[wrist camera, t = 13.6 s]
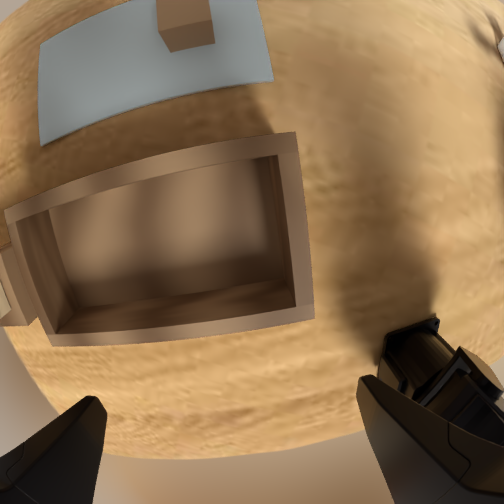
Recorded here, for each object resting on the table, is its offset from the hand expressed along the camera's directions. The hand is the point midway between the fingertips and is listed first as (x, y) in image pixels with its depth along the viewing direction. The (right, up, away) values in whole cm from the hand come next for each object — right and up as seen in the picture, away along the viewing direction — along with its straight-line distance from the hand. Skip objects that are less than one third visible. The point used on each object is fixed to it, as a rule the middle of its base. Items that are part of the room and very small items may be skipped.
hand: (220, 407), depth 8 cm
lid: (-7, +19, +7) cm, 22 cm away
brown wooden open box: (-8, +5, +10) cm, 14 cm away
